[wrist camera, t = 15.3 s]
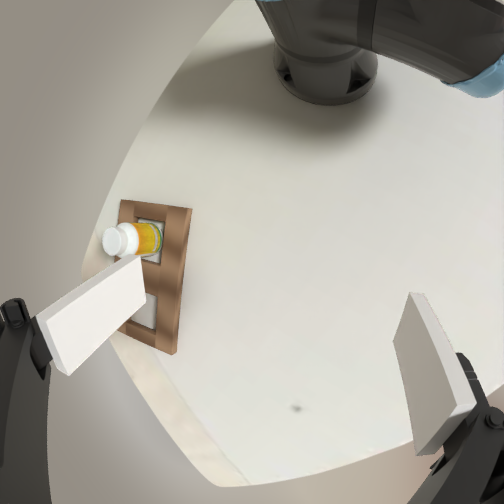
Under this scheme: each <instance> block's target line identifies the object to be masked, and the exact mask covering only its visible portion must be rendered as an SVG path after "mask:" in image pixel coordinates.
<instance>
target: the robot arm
mask: <svg viewBox="0 0 504 504" xmlns="http://www.w3.org/2000/svg"><path fill="white" fill-rule="evenodd" d="M255 1H256V3H257V5H258V7H259V9H260V11H261V12H262V14H263V16H264V18H265V20H266V22H267V24H268V26H269V28H270V30H271V32H272V34H273V36H274V38H275V49H274V66H275V70H276V72H277V74H278V76H279V78H280V80H281V82H282V84H283V85H284V86H285V87H286V89H287V90H288V91H290V92H291V93H292V94H293V95H295V96H297V97H298V98H300V99H302V100H305V101H307V102H310V103H314V104H319V105H340V104H345V103H349V102H352V101H354V100H356V99H358V98H360V97H361V96H363V95H364V94H365V93H366V92H368V90H369V89H370V88H371V87H372V85H373V83H374V81H375V79H376V74H377V67H378V61H377V55H376V53H377V54H380V55H383V56H385V57H388V58H391V59H393V60H396V61H399V62H401V63H404V64H406V65H409V66H411V67H413V68H416V69H418V70H420V71H423V72H425V73H427V74H429V75H431V76H433V77H435V78H438V79H440V81H441V82H442V83H444V84H445V85H447V86H451V87H455V88H457V89H459V90H461V91H463V92H465V93H467V94H469V95H471V96H473V97H477V98H488V97H492V96H494V95H496V94H498V93H499V92H501V91H502V90H503V89H504V0H255ZM146 302H147V301H146V295H145V288H144V281H143V273H142V265H141V257H140V256H139V255H133V254H128V255H126V256H125V257H123V258H122V259H120V260H118V261H117V262H115V263H114V264H112V265H110V266H109V267H107V268H106V269H104V270H102V271H101V272H99V273H98V274H96V275H95V276H93V277H91V278H90V279H88V280H87V281H85V282H84V283H82V284H81V285H79V286H78V287H76V288H75V289H73V290H72V291H70V292H69V293H67V294H66V295H64V296H63V297H61V298H60V299H58V300H57V301H55V302H54V303H53V304H51V305H50V306H48V307H47V308H45V309H44V310H43V311H41V312H40V313H38V314H37V315H36V316H34V317H33V318H32V319H30V316H29V313H28V310H27V308H26V305H25V302H24V300H23V299H21V298H14V299H10V300H9V301H6V302H5V303H3V304H2V305H1V307H0V310H1V312H2V315H3V318H4V320H5V322H4V321H3V319H2V316H1V314H0V504H52V502H51V495H50V486H49V476H48V462H47V411H48V395H49V384H50V375H51V366H50V364H49V362H50V361H51V360H52V359H53V360H54V362H55V365H56V367H57V369H58V370H60V371H61V372H63V373H65V374H66V375H68V376H69V375H70V374H71V373H72V372H73V371H74V370H75V369H76V368H77V367H79V365H81V364H82V363H83V362H84V361H85V360H86V359H87V358H88V357H89V356H90V355H91V354H92V353H93V352H94V351H95V350H96V349H97V348H98V347H99V346H100V345H101V344H102V343H103V342H104V341H105V340H106V339H107V338H108V337H109V336H111V335H112V334H113V333H114V332H115V331H116V330H117V329H118V328H119V327H120V326H121V325H122V324H123V323H124V322H125V321H126V320H127V319H129V318H130V317H131V316H132V315H133V314H134V313H135V312H136V311H137V310H138V309H139V308H140V307H141V306H143V305H144V304H145V303H146ZM393 343H394V347H395V351H396V355H397V359H398V363H399V367H400V371H401V375H402V380H403V384H404V389H405V394H406V399H407V404H408V409H409V415H410V420H411V426H412V433H413V440H414V447H415V455H416V456H421V455H430V454H435V453H436V452H437V451H438V449H439V448H440V447H441V446H442V445H443V447H444V454H443V455H442V456H441V457H440V458H439V459H438V460H437V461H436V462H435V463H434V464H433V465H432V466H431V467H430V469H432V468H433V467H434V468H433V469H432V471H431V472H430V474H429V475H428V477H427V478H426V480H425V481H424V482H423V484H422V485H421V487H420V488H419V489H418V491H417V492H416V493H415V494H414V496H413V497H412V498H411V500H410V501H409V502H408V503H407V504H504V413H503V412H502V411H501V410H499V409H498V408H495V407H490V406H489V404H488V401H487V399H486V396H485V394H484V392H483V389H482V387H481V385H480V382H479V380H477V376H476V374H475V372H474V369H473V367H472V365H471V363H470V361H469V360H468V359H467V358H466V357H465V356H464V355H463V354H462V353H455V351H454V349H453V347H452V345H451V343H450V341H449V339H448V337H447V335H446V333H445V331H444V329H443V327H442V325H441V324H440V322H439V320H438V318H437V316H436V314H435V313H434V311H433V309H432V307H431V305H430V304H429V302H428V300H427V298H426V297H425V295H424V294H422V293H413V292H409V295H408V298H407V302H406V305H405V308H404V311H403V314H402V317H401V320H400V323H399V326H398V329H397V332H396V334H395V337H394V340H393Z"/></svg>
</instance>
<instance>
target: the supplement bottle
mask: <svg viewBox="0 0 504 504" xmlns="http://www.w3.org/2000/svg"><path fill="white" fill-rule="evenodd" d="M102 244H103V248H104V250H105V252H106V253H107V254H108V255H110V256H118V257H120V258H123V257H125V256H126V255H128V254H133V255H139V256H140V257H146V256H153V255H155V254H157V253H158V252H159V251H160V250H161V247H162V244H163V234H162V231H161V229H160V228H159V227H158V226H157V225H155V224H153V223H129V222H125V223H120V224H119V225H117V226H116V227H109V228H107V229H106V230H105V232H104V234H103V238H102Z"/></svg>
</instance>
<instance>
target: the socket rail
mask: <svg viewBox="0 0 504 504" xmlns="http://www.w3.org/2000/svg"><path fill="white" fill-rule="evenodd" d="M191 214H192V209H190V208H183V207H176V206H169V205H162V204H154V203H147V202H139V201H131V200H122V199H121V203H120V211H119V219H118V225H119V224H120V223H125V222H129V223H138V219H139V217H141V218H147V219H153V220H159V221H164V222H166V224H165V231H164V239H163V248H162V257H161V264H159V263H155V262H152V261H148V260H145V259H141V265H142V273H143V281H144V288H145V292H146V293H149V294H152V295H154V296H157V297H158V302H157V318H156V331H155V330H153V329H150V328H148V327H146V326H143V325H141V324H139V323H136V322H134V321H132V320H131V317H130V318H129V319H127V320H126V321H125V322H124V323H123V324H122V325H121V326H120V327H119V328H118V329H117V330H118V331H120V332H122V333H124V334H126V335H128V336H130V337H132V338H134V339H136V340H138V341H141V342H143V343H145V344H147V345H149V346H152V347H154V348H156V349H158V350H161V351H163V352H165V353H168V354H170V355H173V354H174V353H176V352H177V339H178V326H179V314H180V303H181V293H182V284H183V275H184V266H185V258H186V250H187V242H188V235H189V228H190V221H191ZM120 259H122V258H120V257H118V256H115V262H117V261H118V260H120ZM115 262H114V263H115Z"/></svg>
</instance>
